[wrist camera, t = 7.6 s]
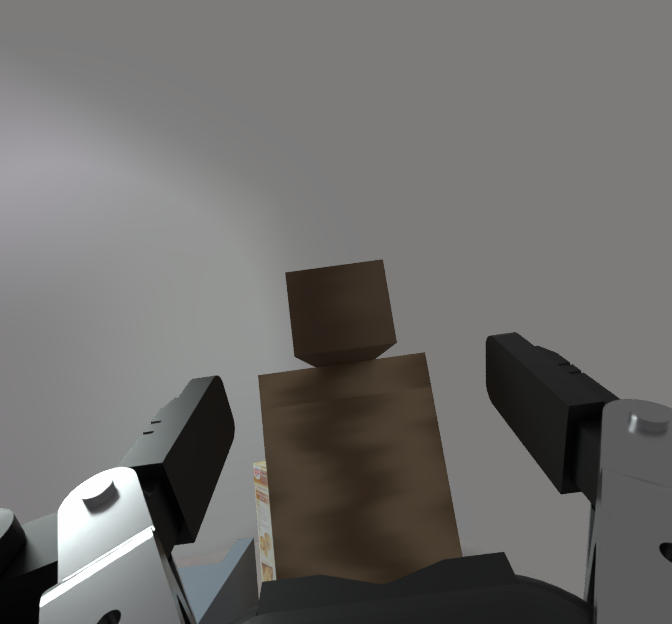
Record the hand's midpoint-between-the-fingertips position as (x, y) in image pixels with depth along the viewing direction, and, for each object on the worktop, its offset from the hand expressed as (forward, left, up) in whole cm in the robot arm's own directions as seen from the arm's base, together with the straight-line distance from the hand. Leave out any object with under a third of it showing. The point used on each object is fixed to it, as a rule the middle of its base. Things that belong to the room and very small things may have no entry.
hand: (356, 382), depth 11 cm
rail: (-1, +13, +1) cm, 13 cm away
